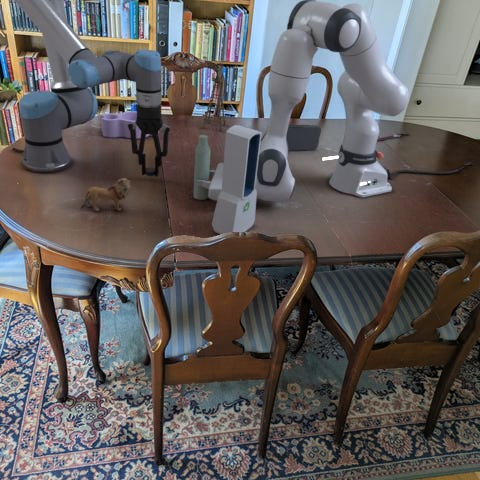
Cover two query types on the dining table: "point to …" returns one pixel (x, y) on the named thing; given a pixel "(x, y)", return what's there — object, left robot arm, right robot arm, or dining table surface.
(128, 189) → the lion figurine
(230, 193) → the electronic device
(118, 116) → the clip
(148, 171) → the cap
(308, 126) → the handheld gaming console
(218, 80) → the eiffel tower model
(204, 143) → the bottle
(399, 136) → the sword
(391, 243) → the dining table surface
